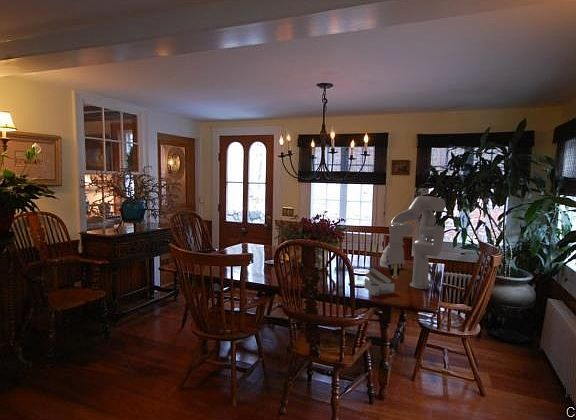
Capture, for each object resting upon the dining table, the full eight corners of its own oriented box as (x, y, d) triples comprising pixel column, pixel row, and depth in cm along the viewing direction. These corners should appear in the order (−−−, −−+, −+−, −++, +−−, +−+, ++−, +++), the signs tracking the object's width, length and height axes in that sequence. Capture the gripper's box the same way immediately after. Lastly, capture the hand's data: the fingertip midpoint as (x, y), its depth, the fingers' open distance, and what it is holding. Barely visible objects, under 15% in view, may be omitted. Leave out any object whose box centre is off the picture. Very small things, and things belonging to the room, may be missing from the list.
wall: (383, 287, 257) (368, 271, 261) (392, 280, 252) (376, 263, 256) (375, 297, 244) (359, 279, 248) (384, 289, 239) (367, 272, 243)
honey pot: (381, 263, 310) (383, 241, 308) (397, 265, 304) (398, 243, 303) (378, 266, 299) (379, 244, 297) (394, 268, 293) (395, 246, 291)
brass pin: (395, 277, 225) (396, 261, 223) (397, 278, 222) (398, 262, 220) (390, 277, 224) (391, 261, 223) (393, 279, 221) (393, 262, 220)
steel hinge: (383, 286, 245) (384, 277, 245) (396, 294, 229) (397, 285, 229) (360, 287, 242) (360, 278, 241) (371, 296, 226) (372, 286, 225)
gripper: (404, 243, 226) (403, 272, 228) (380, 244, 222) (378, 273, 224) (411, 245, 219) (409, 275, 221) (386, 246, 215) (384, 277, 217)
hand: (394, 274), depth 223 cm, fingers closed on brass pin, 3 cm apart
